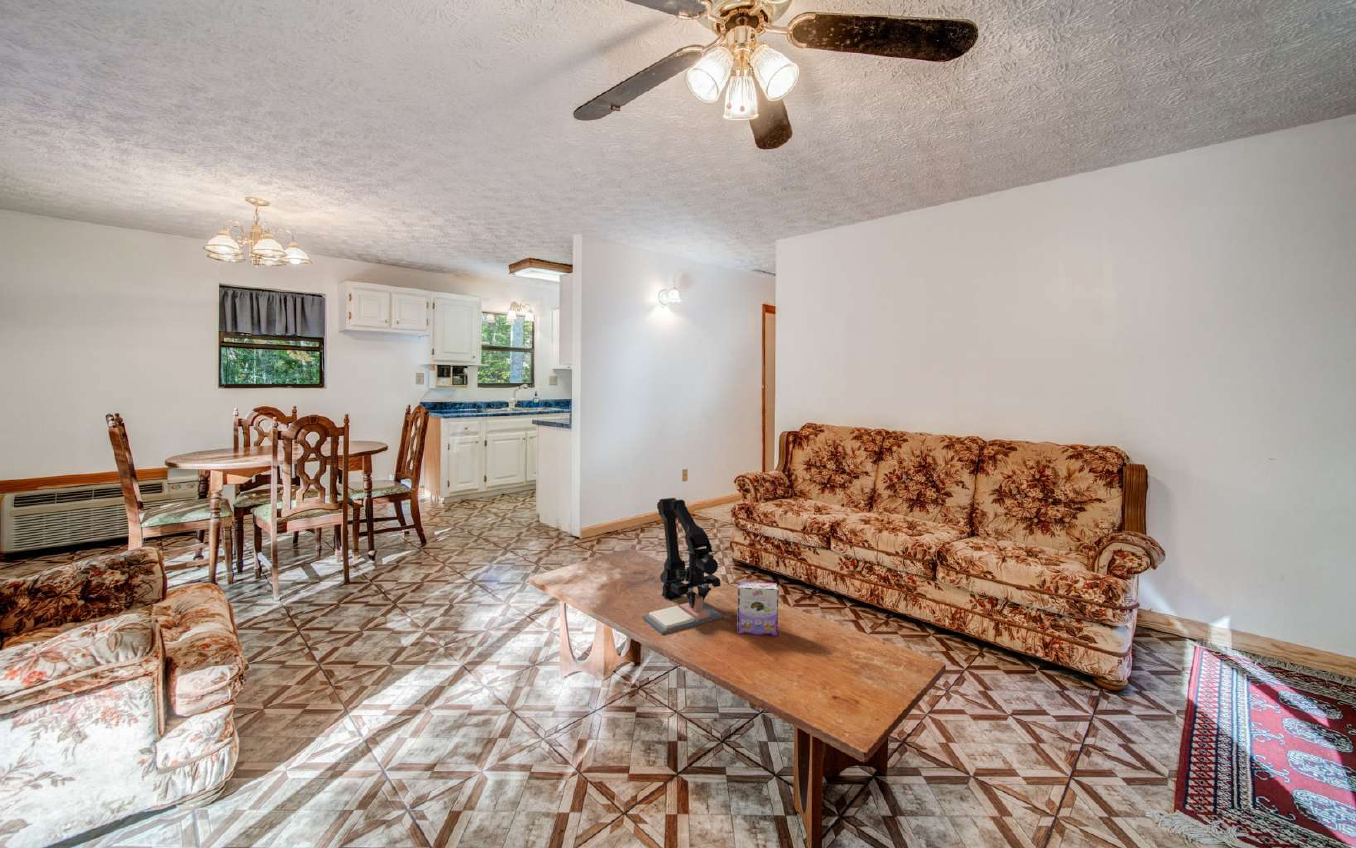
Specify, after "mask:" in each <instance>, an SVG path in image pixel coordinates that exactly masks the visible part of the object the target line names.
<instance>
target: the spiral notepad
mask: <svg viewBox="0 0 1356 848" xmlns="http://www.w3.org/2000/svg"><path fill="white" fill-rule="evenodd" d="M679 607H680V606H677V605H674V606H671V607H666V608H662V609H659V610H654V611H650V612H648V615H649V617H651V618H652V619H653V620H655V621H656V622H657V623H658V624H660V625H661V626H662V627H663V628H665V629H668V628H672V627H676V626H679V625H683V624H687V623H690V622H694V621H695V618H694V617H692V616H691V615H689V614H688V613H686V612H685V611H684V610H682V609H681V608H679Z"/></svg>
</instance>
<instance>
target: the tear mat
mask: <svg viewBox="0 0 1356 848" xmlns="http://www.w3.org/2000/svg"><path fill="white" fill-rule="evenodd" d="M678 607H679V608H680V606H678ZM703 609H704V610H706V611H707V612H709V613H710V614H711V617H708V618H704V619H701V620H696V619H695V621H694V622H690V623H687V624H683V625H679V626H676V627H672V628H668V629H665V628H663V627H662V626H661V625H660V624H658V623H657V622H656V621H655V620H653V619H652V618H651V617H649V614H646V615H642V617H641V618H642V620H643V621H645V622H646V623H647V624H648V625H650V626H651V627H652V628H654V629H655V630H656V632H658V633H659V634H661V635H666V634H669V633H673V632H676V631H680V630H684V629H688V628H691V627H695V626H698V625H702V624H705V623H709V622H713V621H716V620H720V619H723V618H724V615H723V614H722V613H721V612H719V611H717V609H715V608H713V607H711V606H710V605H708V604H706V603H705V602H703Z"/></svg>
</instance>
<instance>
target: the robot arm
mask: <svg viewBox="0 0 1356 848" xmlns="http://www.w3.org/2000/svg"><path fill="white" fill-rule="evenodd" d="M656 508H657V510H658V516H659V517H660V518H661V519H662V520H663V521H662V522H663V524H664V525H663V528H664V536H665V548H666V549H665V550H666V559H665V562H664V564H663V571H662V572H661V573H660V576H659V577H660V582H661V583H663V585H662V593H661V596H662V597H664V598H665V599H667V600H669V601H672V600H677V599H680V598H683V597H684V595H686V598H687V601H688V603H689V604H690V607H691V608H693V607H694V601H695V594H696V593H697V594H698V595H700V596H702V597H703V602H704V601H705V598H706V597H707V595H708V594H709V592H710V591H712V588H711V587H710V585H711V586H712V587H713V588H717V587H721V584H722V583H721V579H720V578H719V577H717V576H716V575H714V574H716V572H717V571H718V569H719V568H718V567H719V565H718V561H717V560H716V559H715V558H714V555H713V554H711V553H713V549H712V548H713V545H712V544H711V542H710V538H709V536H708V534H707V532H705V530H704V529H703V527H702V526H701V527H700V526H699V525H697V524H696V522H695V520H694V518H693V516H692V514H691V512H690V511H689V510H688V508H687V506H686V502H685V500H684V499H677V498H676V497H668V498H661V499H659V500H658V502H657V504H656ZM676 520H678V521H679V523H680V526H681V527H682V528H683V530H684V532H685V534H684V535H685V536H684V540H685V543H686V545H687V548H686V551H687V552H688V566H687V567H686V561H685V560H683V558H681V557H680V549H679V539H678V529H677V521H676ZM705 574H706V575H705ZM684 582H687V583H684ZM694 588H697V592H695V591H694Z"/></svg>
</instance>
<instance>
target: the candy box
mask: <svg viewBox="0 0 1356 848" xmlns="http://www.w3.org/2000/svg"><path fill="white" fill-rule="evenodd" d="M736 612H737V613H736V614H737V615H736V616H737V617H736V618H737V619H736V621H737V622H736V633H737V634H743V635H744V634H746V635H747V634H748V635H768V636H778V625H779V624H778V622H779V617H778V616H779V613H778V612H779V587H778V584H777V583H775V582H774V583H771V582H769V583H768V582H752V581H750V582H749V581H738V582H737V611H736Z"/></svg>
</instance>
